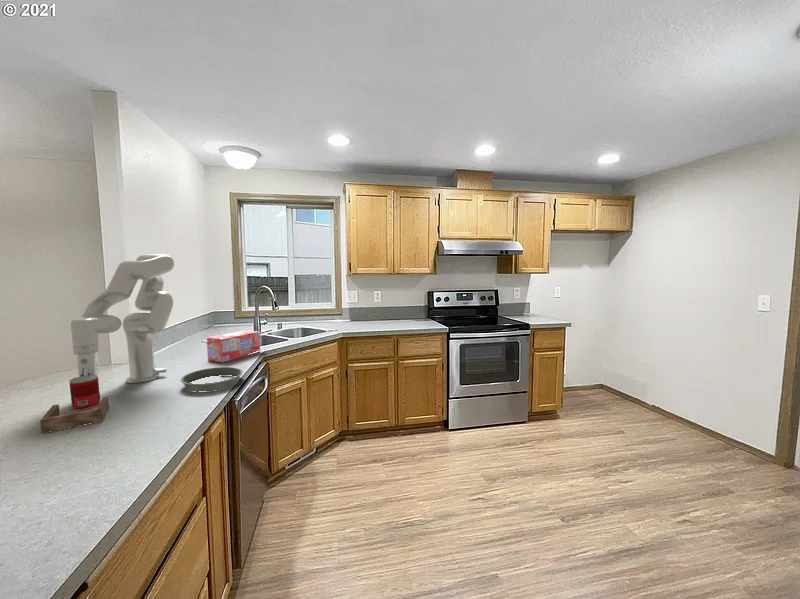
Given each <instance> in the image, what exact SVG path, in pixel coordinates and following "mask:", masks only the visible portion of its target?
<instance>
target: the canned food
mask: <svg viewBox="0 0 800 599" xmlns="http://www.w3.org/2000/svg"><path fill="white" fill-rule="evenodd" d="M68 382H69V391H70V392H69V393H70V400H71V407H72V410H75V409H81V410H87V409H90V408H94V407H96V406H99V404H100V402H101V395H100V383H99V376H98V375H86V376H80V377H79V376H77V377H74V378H73V377H72V378H71V379H70V380H69V381H68ZM86 408H87V409H86Z"/></svg>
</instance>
